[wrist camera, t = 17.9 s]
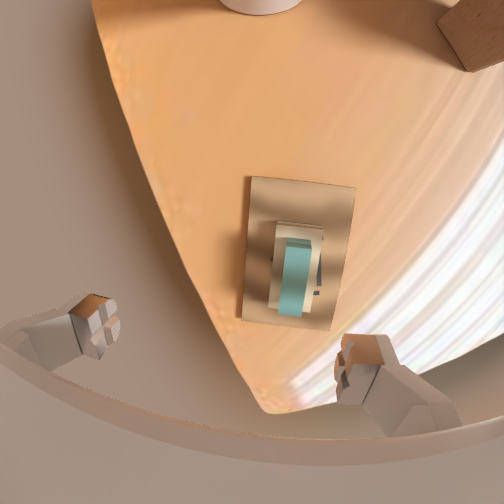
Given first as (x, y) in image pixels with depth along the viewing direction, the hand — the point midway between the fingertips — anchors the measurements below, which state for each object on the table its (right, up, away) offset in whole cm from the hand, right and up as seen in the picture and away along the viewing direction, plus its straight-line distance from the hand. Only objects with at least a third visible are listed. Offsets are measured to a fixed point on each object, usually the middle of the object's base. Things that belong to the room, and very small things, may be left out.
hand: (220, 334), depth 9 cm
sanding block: (+7, +1, +31) cm, 32 cm away
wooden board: (+7, +2, +32) cm, 32 cm away
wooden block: (+36, +37, +16) cm, 54 cm away
